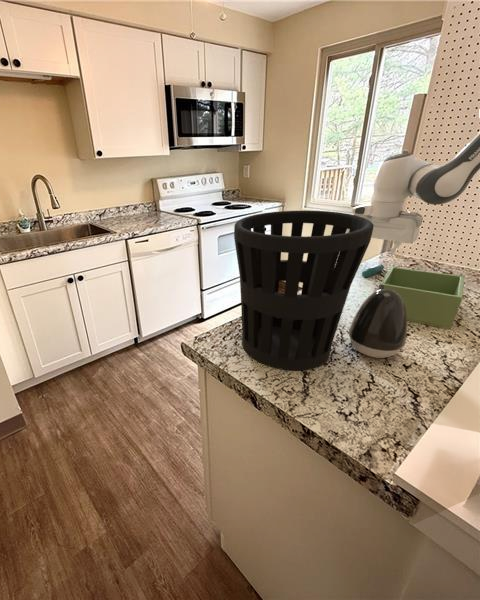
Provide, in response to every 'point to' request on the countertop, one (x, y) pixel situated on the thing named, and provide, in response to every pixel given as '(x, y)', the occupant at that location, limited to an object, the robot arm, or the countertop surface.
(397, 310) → the dark brown egg shape
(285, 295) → the wastebasket
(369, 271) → the teal rounded rod
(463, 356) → the countertop surface
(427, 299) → the bin
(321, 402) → the countertop surface
